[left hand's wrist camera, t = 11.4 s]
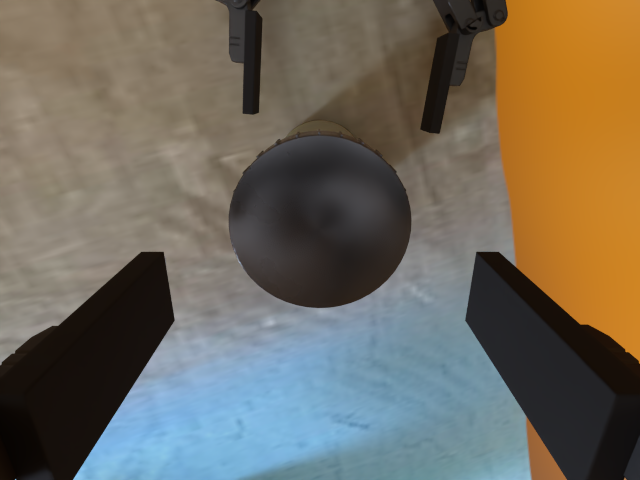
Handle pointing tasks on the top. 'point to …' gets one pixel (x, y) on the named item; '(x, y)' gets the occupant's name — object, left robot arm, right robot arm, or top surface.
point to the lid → (320, 219)
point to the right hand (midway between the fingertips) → (340, 123)
